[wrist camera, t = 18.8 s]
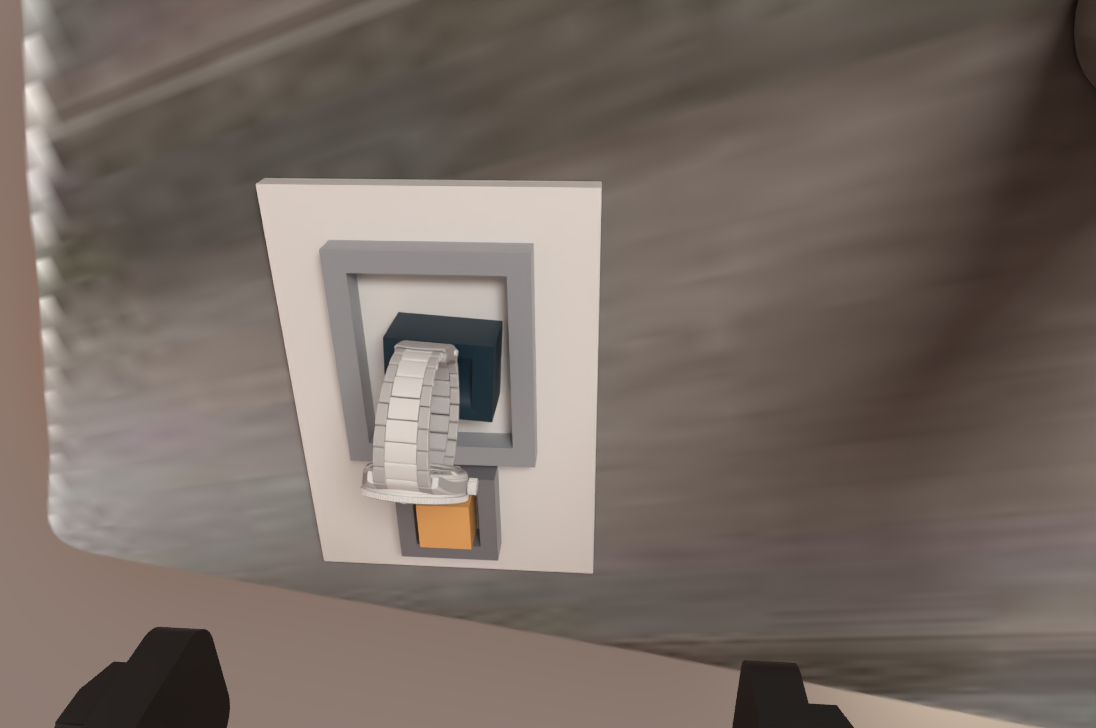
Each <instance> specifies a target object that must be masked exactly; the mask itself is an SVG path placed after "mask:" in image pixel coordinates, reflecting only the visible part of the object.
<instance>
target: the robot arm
mask: <svg viewBox="0 0 1096 728" xmlns="http://www.w3.org/2000/svg"><path fill="white" fill-rule="evenodd" d="M1074 40H1075V47H1076V54H1077V58H1078V60H1079V63H1080V65H1081V67H1082V70H1083V72H1084V75H1085V76H1086V77H1087V79H1088V80H1089V81H1090V82H1091V84H1092V85H1093V86H1094V87H1095V89H1096V0H1078V3H1077V7H1076V11H1075V24H1074ZM229 710H230V701H229V694H228V691H227V687H226V684H225V680H224V677H223V673H222V670H221V666H220V663H219V659H218V656H217V652H216V649H215V645H214V641H213V638H212V636H211V634H210V632H208V631H207V630H205V629H189V628H170V627H169V628H168V627H156V628H154V629H152V630H151V631H150V632H148V634H147V635H146V636H145V637H144V638H143V640H142V641H141V643H140V644H139V646H138V647H137V649H136V650H135V651H134V653H133V654H132V656H131V657H130V659H129V660H128V661H127V662H113V663H111V664H110V665H109V666H108V667H107V668H105V669H104V670H103V671H102V672H100V673H99V674H98V675H97V676H95V677H94V678H93V679H92V680H91V681H89V682H88V683H87V684H86V685H85V686H83V687H82V688H81V689H80V690H79V691H78V692H77V694H76V695H75V696H74V698H73V699H72V700H71V702H70V703H69V704H68V706H67V707H66V709H65V710H64V711H63V713H62V714H61V715H60V717H59V718H58V719H57V721H56V722H55V723H56V724H55V728H227V724H228V718H229ZM732 728H854V727H853V726H852V725H851V724H850V722H849V721H848V719H847V718H846V717H845V716H844V714H843V713H842V712H841V710H840V709H839V708H838V706H837V705H824V704H823V705H822V704H808V700H807V696H806V692H805V688H804V684H803V680H802V677H801V673H800V670H799V668H798V666H797V664H796V663H785V662H767V661H748V660H744V661H743V663H742V666H741V672H740V679H739V686H738V692H737V699H736V706H735V713H734V721H733V727H732Z"/></svg>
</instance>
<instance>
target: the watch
mask: <svg viewBox="0 0 1096 728" xmlns="http://www.w3.org/2000/svg"><path fill="white" fill-rule="evenodd" d="M502 329H503V321H498V320H486V319H475V318H463V317H451V316H440V315H428V314H416V313H405V312H398V314H397V315H396V317H395V319H394V320H393V322H392V323H391V325H390V327H389V328H388V330H387V332H386V333H385V335H384V336H383V351H384V374H385V378H384V383H383V386H382V390H381V394H380V399H379V402H380V403H378V407H377V413H376V419H375V424H376V425H375V430H374V439H373V446H374V448H373V462H372V463H369V464H367V465H366V466H365V468H364V470H363V479H362V486H360V494H362V495H364V496H366V497H369V498H373V499H377V500H383V501H389V502H396V503H401V504H419V505H448V504H458V503H463V502H466V501H468V497H469V495H477V491H478V478H469V477H468V474H467V472H466V471H464V470H463V469H461V468H460V466H453V465H454V458H455V453H456V443H457V442H456V441H457V437H458V423H453V422H459V419H461V420H471V421H482V422H493V418H494V414H495V410H496V407H497V403H498V399H499V395H500V386H501V357H502ZM388 418H389V419H388ZM392 419H400V420H392ZM403 420H410V421H403ZM413 421H414V422H413ZM381 425H386V426H381ZM432 432H438V433H432ZM442 433H448V434H442ZM450 440H454V441H450ZM468 478H469V481H468Z"/></svg>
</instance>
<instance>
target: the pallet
mask: <svg viewBox="0 0 1096 728" xmlns="http://www.w3.org/2000/svg"><path fill="white" fill-rule="evenodd" d="M256 189H257V195H258V200H259V206H260V211H261V217H262V222H263V228H264V233H265V239H266V244H267V250H268V255H269V261H270V266H271V272H272V277H273V283H274V288H275V294H276V299H277V305H278V310H279V316H280V321H281V327H282V332H283V338H284V343H285V349H286V354H287V360H288V365H289V371H290V376H291V382H292V387H293V393H294V398H295V404H296V409H297V415H298V420H299V426H300V431H301V437H302V442H303V448H304V453H305V459H306V464H307V470H308V475H309V481H310V486H311V492H312V497H313V503H314V508H315V514H316V519H317V525H318V530H319V536H320V541H321V547H322V552H323V558H324V561H336V562H357V563H379V564H400V565H422V566H443V567H465V568H486V569H508V570H529V571H551V572H572V573H593V559H594V514H595V470H596V425H597V381H598V336H599V292H600V247H601V203H602V181H507V180H408V179H309V178H265V179H263V180H261V181H260V182H258V183H257V184H256ZM398 312H405V313H416V314H428V315H440V316H451V317H463V318H475V319H486V320H498V321H503V329H502V357H501V386H500V395H499V399H498V403H497V407H496V410H495V414H494V418H493V422H482V421H471V420H461V419H459V422H453V423H458V437H457V441H456V442H457V443H456V453H455V458H454V465H453V466H460V468H461V469H463V470H464V471H466V472H467V474H468V477H469V478H478V491H477V495H475V505H476V521H477V529H476V533H475V537H474V541H473V545H472V549H450V548H427V547H420V541H419V531H418V522H417V513H416V504H401V503H396V502H389V501H383V500H377V499H373V498H369V497H366V496H364V495H362V494H360V486H362V479H363V470H364V468H365V466H366V465H367V464H369V463H372V462H373V448H374V446H373V439H374V430H375V425H376V424H375V419H376V413H377V407H378V403H380V402H379V399H380V394H381V390H382V386H383V383H384V378H385V374H384V351H383V336H384V335H385V333H386V332H387V330H388V328H389V327H390V325H391V323H392V322H393V320H394V319H395V317H396V315H397V314H398ZM388 419H389V418H388ZM392 420H400V419H392ZM403 421H410V420H403ZM413 422H414V421H413ZM381 426H386V425H381ZM432 433H438V432H432ZM442 434H448V433H442ZM450 441H454V440H450ZM469 478H468V481H469Z"/></svg>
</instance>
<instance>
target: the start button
mask: <svg viewBox="0 0 1096 728" xmlns="http://www.w3.org/2000/svg"><path fill="white" fill-rule="evenodd" d="M416 513H417V522H418V531H419V541H420V547H427V548H450V549H472V545H473V541H474V537H475V533H476V529H477V521H476V505H475V495H469V497H468V501H466V502H463V503H458V504H448V505H419V504H416Z"/></svg>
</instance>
